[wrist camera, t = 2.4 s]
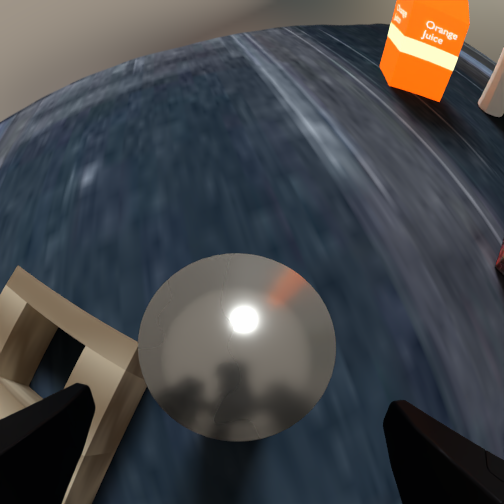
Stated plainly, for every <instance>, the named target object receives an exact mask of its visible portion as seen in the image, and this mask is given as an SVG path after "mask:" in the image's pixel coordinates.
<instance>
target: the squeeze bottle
mask: <svg viewBox="0 0 504 504" xmlns="http://www.w3.org/2000/svg"><path fill="white" fill-rule="evenodd" d="M478 105H479V107H480V108H481V109H482V110H483V111H484V112H486V113H488V114H490V115H492V116H495V117H501V116H502V115H503V114H504V48H503V50H502V53H501V55H500V58H499V60H498V62H497V65H496V66H495V69H494V72H493V73H492V75H491V78H490V80H489V81H488V84H487V86H486V88H485V89H484V92H483V94H482V96H481V98H480V99H479V101H478Z"/></svg>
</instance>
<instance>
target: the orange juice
mask: <svg viewBox="0 0 504 504" xmlns="http://www.w3.org/2000/svg"><path fill="white" fill-rule="evenodd" d="M469 25H470V24H469V7H468V0H397V2H396V6H395V10H394V14H393V18H392V22H391V24H390V28H389V32H388V37H387V41H386V45H385V48H384V52H383V56H382V59H381V63H380V68H381V70H382V72H383V74H384V76H385V78H386V80H387V82H388V84H389V86H392V87H396V88H399V89H402V90H406V91H409V92H412V93H415V94H418V95H421V96H424V97H427V98H430V99H432V100H435V101H438V102H440V100H441V97H442V95H443V93H444V90H445V88H446V86H447V83H448V81H449V78H450V76H451V73H452V71H453V69H454V67H455V64H456V62H457V59H458V55H459V53H460V50H461V47H462V45H463V42H464V39H465V36H466V33H467V30H468V28H469Z"/></svg>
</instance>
